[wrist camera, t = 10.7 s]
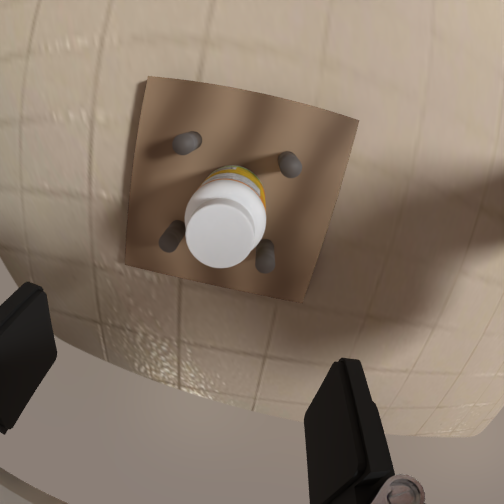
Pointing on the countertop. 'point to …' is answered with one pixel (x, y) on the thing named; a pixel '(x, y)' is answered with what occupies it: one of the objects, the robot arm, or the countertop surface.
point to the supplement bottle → (226, 217)
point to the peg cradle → (237, 154)
